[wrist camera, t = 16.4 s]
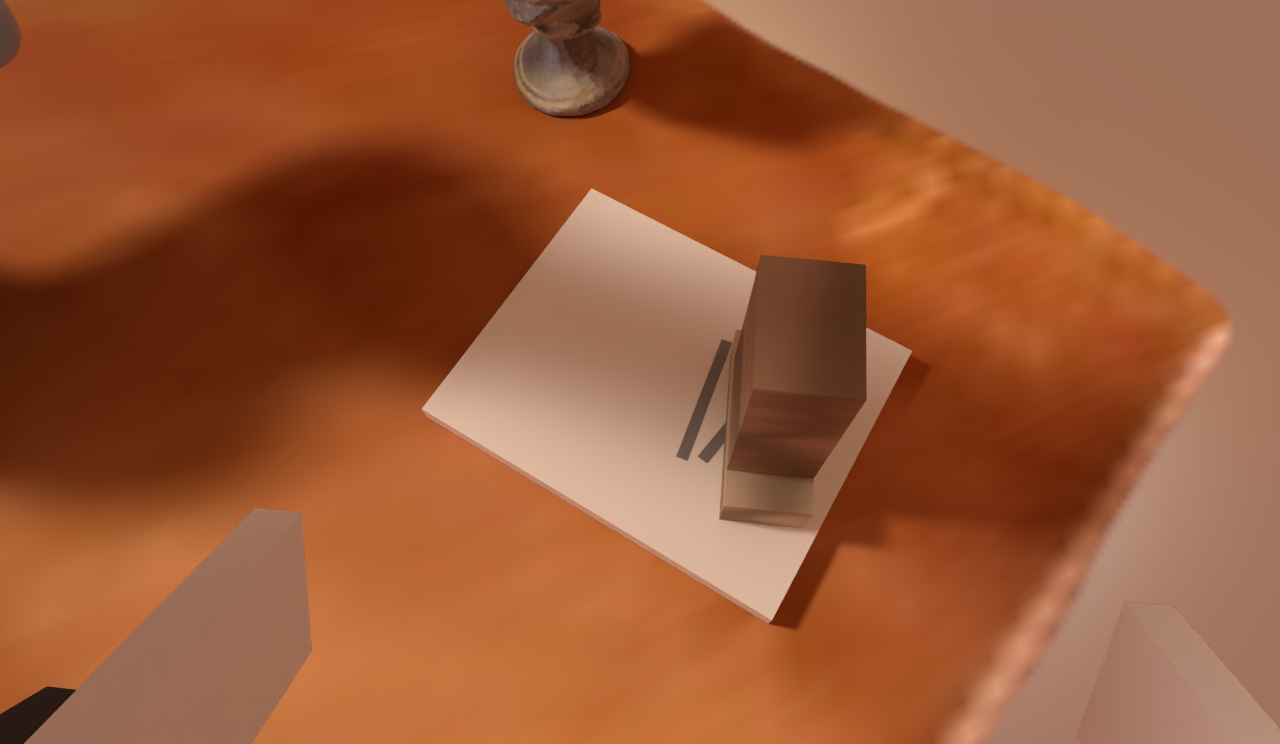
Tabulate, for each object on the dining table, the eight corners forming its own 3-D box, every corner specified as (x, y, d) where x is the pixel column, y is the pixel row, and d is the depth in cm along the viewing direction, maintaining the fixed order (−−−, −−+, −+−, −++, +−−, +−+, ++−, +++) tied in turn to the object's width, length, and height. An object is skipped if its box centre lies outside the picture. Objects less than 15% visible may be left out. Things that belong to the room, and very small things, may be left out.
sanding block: (719, 519, 40) (750, 433, 29) (730, 351, 43) (762, 218, 32) (802, 528, 39) (867, 445, 28) (807, 358, 43) (865, 227, 32)
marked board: (427, 417, 43) (421, 408, 42) (592, 200, 49) (591, 188, 47) (768, 623, 39) (772, 620, 38) (905, 360, 44) (912, 350, 43)
